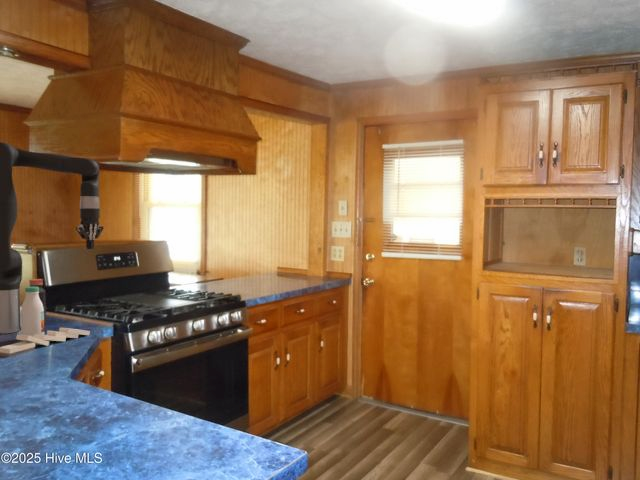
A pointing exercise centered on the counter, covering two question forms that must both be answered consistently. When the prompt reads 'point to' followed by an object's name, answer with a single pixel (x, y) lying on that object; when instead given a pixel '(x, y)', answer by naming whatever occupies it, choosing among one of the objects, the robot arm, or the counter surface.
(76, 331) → the domino
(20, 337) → the domino
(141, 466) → the counter surface
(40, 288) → the vinegar
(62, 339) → the domino
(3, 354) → the domino
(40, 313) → the milk bottle
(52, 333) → the domino
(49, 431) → the counter surface
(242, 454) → the counter surface
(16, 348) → the domino
